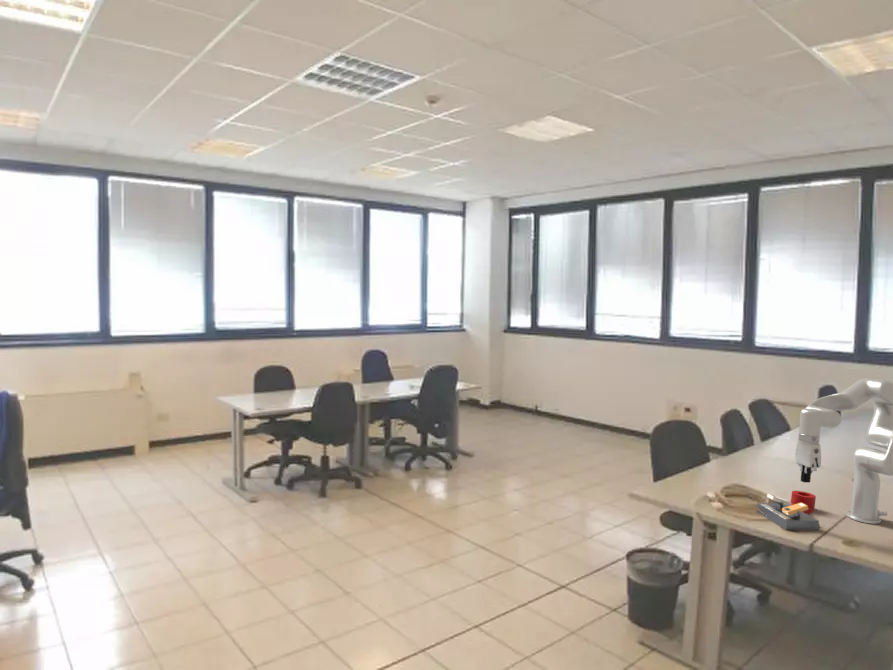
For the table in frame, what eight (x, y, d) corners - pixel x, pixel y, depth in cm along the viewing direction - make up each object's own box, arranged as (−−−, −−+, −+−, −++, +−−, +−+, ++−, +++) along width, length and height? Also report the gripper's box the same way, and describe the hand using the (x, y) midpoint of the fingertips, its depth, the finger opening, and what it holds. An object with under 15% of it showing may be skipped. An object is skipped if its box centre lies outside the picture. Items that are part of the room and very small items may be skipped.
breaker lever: (801, 506, 256) (800, 501, 255) (809, 510, 251) (808, 506, 251) (781, 512, 255) (781, 507, 255) (789, 516, 250) (788, 512, 250)
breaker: (783, 503, 267) (785, 499, 267) (790, 507, 262) (792, 503, 262) (765, 496, 266) (767, 492, 266) (772, 500, 261) (774, 496, 261)
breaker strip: (786, 512, 269) (787, 500, 268) (817, 530, 249) (819, 516, 249) (756, 512, 268) (757, 499, 267) (786, 529, 248) (787, 516, 247)
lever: (791, 503, 281) (793, 489, 281) (815, 508, 276) (816, 494, 275) (786, 512, 267) (787, 498, 266) (810, 518, 261) (812, 503, 261)
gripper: (830, 443, 244) (826, 487, 245) (805, 434, 259) (801, 476, 260) (812, 443, 243) (809, 487, 245) (788, 434, 258) (785, 476, 259)
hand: (805, 481), depth 252 cm, fingers closed
